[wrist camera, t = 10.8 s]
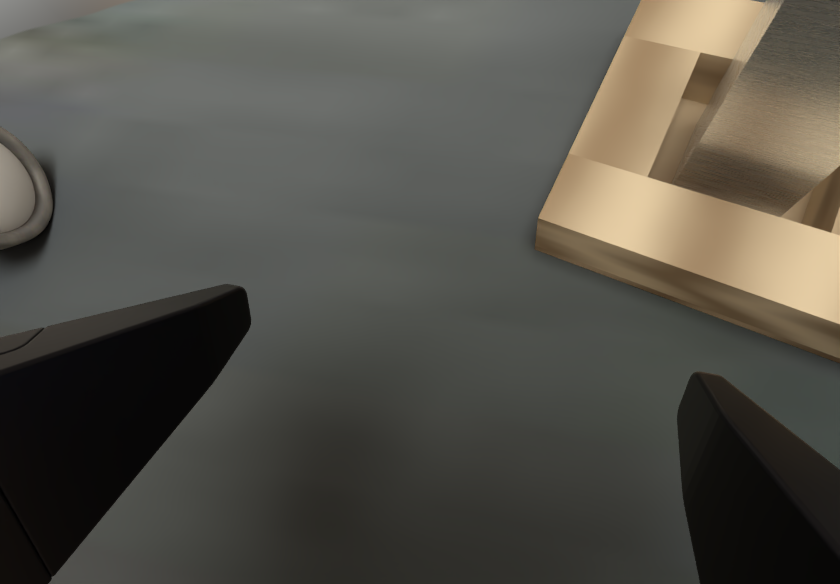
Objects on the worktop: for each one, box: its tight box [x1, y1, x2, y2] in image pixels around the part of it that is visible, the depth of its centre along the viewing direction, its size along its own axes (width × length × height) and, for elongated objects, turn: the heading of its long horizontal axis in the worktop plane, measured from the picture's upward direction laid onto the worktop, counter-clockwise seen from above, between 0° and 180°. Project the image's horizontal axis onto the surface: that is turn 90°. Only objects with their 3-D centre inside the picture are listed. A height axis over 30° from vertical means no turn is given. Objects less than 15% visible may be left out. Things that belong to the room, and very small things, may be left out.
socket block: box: [535, 0, 840, 363], centre depth 22 cm, size 14×14×4 cm
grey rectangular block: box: [671, 0, 840, 217], centre depth 16 cm, size 4×4×14 cm
